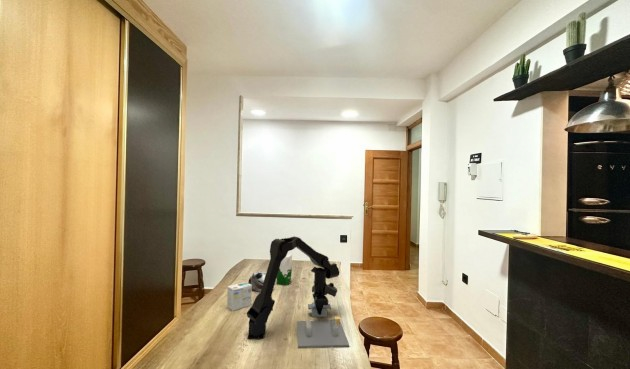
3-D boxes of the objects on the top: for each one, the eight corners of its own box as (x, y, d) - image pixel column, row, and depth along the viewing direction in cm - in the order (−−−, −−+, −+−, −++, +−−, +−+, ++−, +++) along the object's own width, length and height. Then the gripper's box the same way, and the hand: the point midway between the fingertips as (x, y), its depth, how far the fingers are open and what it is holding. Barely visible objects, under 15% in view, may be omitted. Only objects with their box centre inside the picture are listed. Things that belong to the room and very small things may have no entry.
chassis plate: (298, 348, 108) (298, 336, 108) (296, 322, 127) (297, 313, 128) (349, 347, 109) (349, 335, 109) (340, 322, 129) (340, 312, 129)
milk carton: (279, 280, 184) (280, 249, 184) (292, 281, 182) (293, 250, 182) (274, 284, 175) (275, 252, 175) (288, 286, 173) (289, 254, 174)
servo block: (308, 316, 134) (308, 305, 134) (307, 312, 138) (307, 301, 138) (330, 316, 135) (331, 304, 135) (329, 312, 139) (329, 301, 139)
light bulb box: (245, 301, 149) (245, 281, 149) (251, 305, 144) (252, 284, 144) (226, 307, 141) (227, 285, 142) (232, 311, 137) (233, 289, 137)
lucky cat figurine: (272, 284, 176) (279, 267, 170) (269, 299, 165) (275, 281, 159) (250, 277, 174) (255, 260, 169) (244, 291, 163) (250, 273, 158)
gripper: (339, 287, 128) (338, 321, 128) (333, 274, 147) (332, 304, 146) (315, 287, 127) (314, 321, 127) (312, 274, 146) (311, 304, 145)
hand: (319, 312), depth 136 cm, fingers closed on servo block, 4 cm apart
